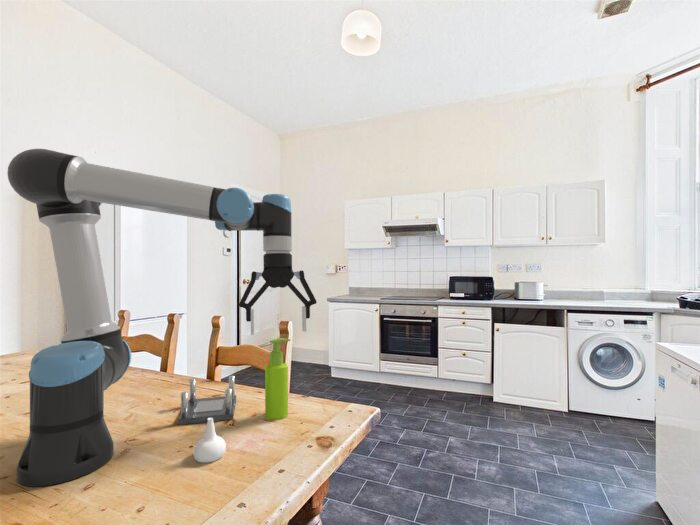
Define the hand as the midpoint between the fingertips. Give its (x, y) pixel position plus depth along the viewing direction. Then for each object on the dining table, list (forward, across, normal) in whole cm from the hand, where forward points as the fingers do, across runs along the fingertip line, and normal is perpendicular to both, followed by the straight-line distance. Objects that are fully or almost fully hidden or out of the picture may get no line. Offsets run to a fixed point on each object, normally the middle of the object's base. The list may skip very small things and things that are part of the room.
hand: (278, 332), depth 96 cm
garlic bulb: (+22, +15, +18) cm, 32 cm away
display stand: (+22, +18, -7) cm, 29 cm away
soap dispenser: (+22, 0, 0) cm, 22 cm away
